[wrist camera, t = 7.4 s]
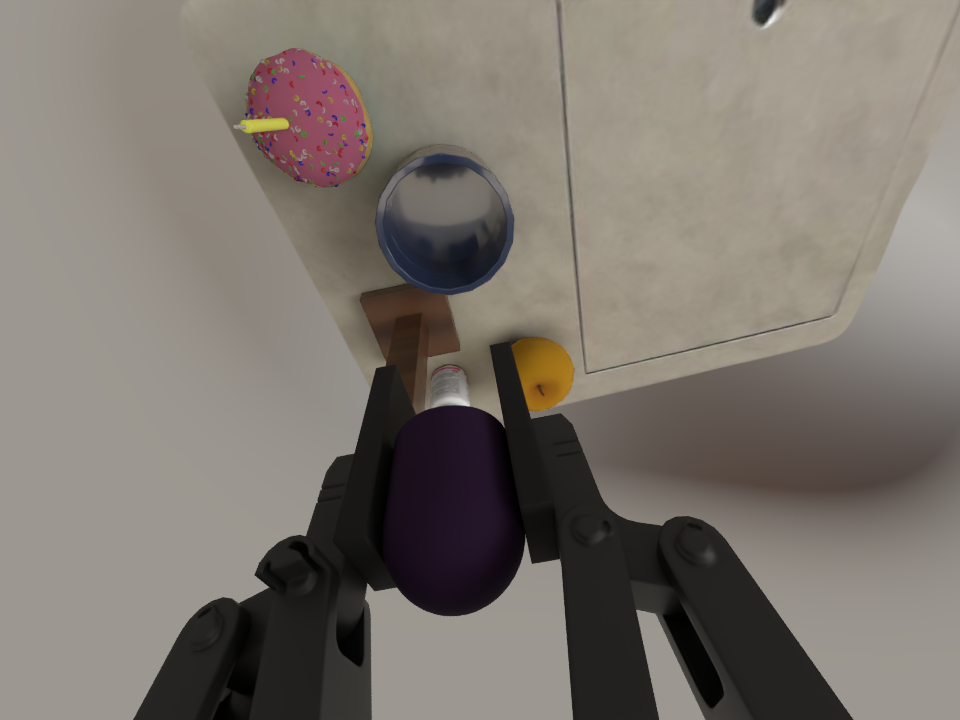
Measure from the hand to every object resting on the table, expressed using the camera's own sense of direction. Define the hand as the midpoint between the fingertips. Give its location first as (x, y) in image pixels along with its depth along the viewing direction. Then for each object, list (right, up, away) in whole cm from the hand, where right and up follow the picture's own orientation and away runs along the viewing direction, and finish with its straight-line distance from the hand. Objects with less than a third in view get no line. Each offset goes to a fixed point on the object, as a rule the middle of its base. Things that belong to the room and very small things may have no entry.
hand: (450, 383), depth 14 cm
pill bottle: (-3, -1, +34) cm, 34 cm away
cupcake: (-12, +21, +17) cm, 29 cm away
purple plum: (0, -2, -2) cm, 3 cm away
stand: (-7, +6, +28) cm, 29 cm away
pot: (-2, +15, +21) cm, 26 cm away
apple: (+7, +2, +32) cm, 33 cm away
